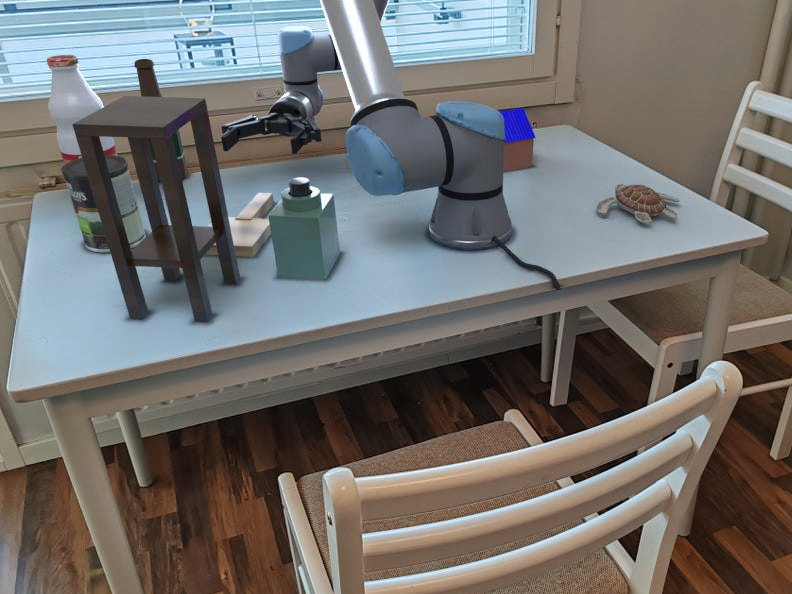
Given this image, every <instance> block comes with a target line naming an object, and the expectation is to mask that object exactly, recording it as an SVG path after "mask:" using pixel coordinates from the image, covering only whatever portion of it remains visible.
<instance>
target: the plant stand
mask: <svg viewBox="0 0 792 594" xmlns="http://www.w3.org/2000/svg"><path fill="white" fill-rule="evenodd" d="M206 100H207V99H206V98H204V97H177V96H176V97H173V96H162V97H145V96H141V95H140V96H139V95H124V96H121V97H119V98H117V99H116V100H114V101H112V102H111V103H109V104H107V105H105V106H103V108H101V109H99V110H98V111H96V112H94V113H92V114H90V115H88V116H86V117H85V118H83V119H81V120H79V121H77V122H75V123H74V124H72V125H73V129H74V132H75V135H76V139H77V142H78V145H79V149H80V152H81V155H82V159H83V162H84V166H85V169H86V172H87V176H88V179H89V182H90V186H91V189H92V192H93V196H94V199H95V203H96V206H97V209H98V213H99V216H100V219H101V223H102V226H103V229H104V233H105V236H106V239H107V243H108V246H109V250H110V253H109V254H110V256H111V259H112V263H113V266H114V269H115V270H114V271H115V273H116V276H117V279H118V283H119V287H120V289H121V294H122V296H123V300H124V303H125V307H126V311H127V313H128V317H129V319H130V320H144V319H145V318H146V317H147V316H148V314H149V309H148V305H147V302H146V299H145V295H144V292H143V288H142V285H141V280H140V276H139V273H138V270H137V267H144V268H161V272H162V273H161V274H162V277H163V280H164V282H169V283H171V282H172V283H178V281H179V280H180V279H181V277H182V274H183V278H184V283H185V287H186V290H187V296H188V299H189V303H190V307H191V312H192V316H193V319H194V322H195V323H209V322H210V321H211V319H212V317H214V316H213V311H212V306H211V301H210V298H209V293H208V289H207V283H206V280H205V276H204V271H203V266H202V263H201V260H202V258H203V257H204V256H206V255H205V254H206V253H207V251H208V250H209V249H210V248H211V247H212V246H213V245H214V243H215V242H216V246H217V251H218V255H217V256H218V261H219V265H220V269H221V270H220V271H221V275H222V279H223V284H224V285H234V286H235V285H237V284H238V283H239V282H240V281H241V275H240V271H239V266H238V265H239V264H238V260H237V256H236V254H235V249H234V244H233V239H232V234H231V228H230V223H229V218H228V217H229V214H228V209H227V203H226V197H225V193H224V187H223V183H222V177H221V172H220V168H219V162H218V158H217V152H216V147H215V142H214V136H213V131H212V126H211V121H210V115H209V111H208V110H209V109H208V105H207V101H206ZM188 123H190V125H191V130H192V135H193V140H194V145H195V150H196V154H197V160H198V164H199V169H200V173H201V178H202V183H203V189H204V193H205V198H206V202H207V207H208V211H209V216H210V217H209V218H210V223H211V222H212V227H207V226H200V225H199V226H198V225H193V221H192V218H191V213H190V208H189V204H188V201H187V200H188V199H187V195H186V191H185V185H184V182H183V179H182V177H181V173H180V168H179V164H178V159H177V155H176V150H175V146H174V141H173V137H172V134H173V133H174V132H175V131H177V130H178V129H179V130H180V129H181V128H182V127H184V126H185V125H187V124H188ZM99 136H102V137H113V138H127V140H128V144H129V148H130V152H131V153H130V154H131V156H132V160H133V164H134V168H135V172H136V175H137V180H138V184H139V187H140V191H141V195H142V198H143V202H144V207H145V210H146V211H145V212H146V214H147V218H148V222H149V226H150V230H151V232H150V233H149V234H148V235H146V238H145V239H144V240H142V241H141V242H140V243H139V244H138V245H137V246H136V247H133V248H130V245H129V241H128V238H127V234H126V230H125V227H124V223H123V220H122V216H121V212H120V209H119V205H118V202H117V198H116V195H115V191H114V187H113V184H112V180H111V177H110V173H109V170H108V166H107V162H106V159H105V155H104V152H103V148H102V145H101V141H100V137H99ZM148 138H151V142H152V146H153V150H154V154H155V158H156V162H157V166H158V171H159V175H160V179H161V182H158V179H157V175H156V171H155V166H154V162H153V158H152V154H151V150H150V146H149V142H148ZM160 183H161V188H162V191H163V195H164V200H163V197H162V191H161V188H160ZM164 201H165V203H166V208H167V212H166V208H165V204H164ZM167 213H168V216H169V220H170V223H169V220H168V217H167ZM181 270H182V274H181Z"/></svg>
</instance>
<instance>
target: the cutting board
mask: <svg viewBox="0 0 792 594" xmlns="http://www.w3.org/2000/svg"><path fill="white" fill-rule="evenodd" d="M274 205H275V199H274V193H273V192H257V194H256V195H255V196H254V197H253V198H252V199H250V201H249V202H248V203H247V205H245V207H244V208H243V209H242V210H241V211H240V213H238V214H237V215H236V216H228V218H229V223H230V228H231V234H232V239H233V244H234V249H235V254H236V257H249V258H254V257H255V256H256V255H257V253H258V252H259V251H260V250H261V248H262V247H263V245H264V244H265V243H266V241H267V240H268V239H269V238H270V236H271V229H270V223H269V218H264V217H265V216H266V214H268V212H269V211H270V210H271V208H272V207H273V206H274ZM206 227H212V222H211V221H210V222H209V223H208V225H207V226H206ZM206 255H207V256H218V251H217V246H216V242H215V243H214V245H213V246H212V247H211V248H210V249H209V250H208V251H207V253H206V254H205V255H204V256H206Z"/></svg>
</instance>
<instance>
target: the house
mask: <svg viewBox="0 0 792 594" xmlns="http://www.w3.org/2000/svg"><path fill="white" fill-rule="evenodd" d="M498 111H499V112H500V113H501V114H502V116H503V119H504V129H505V140H504V167H503V173H504V172H510V171H516V170H521V169H528V168H533V165H534V164H533V161H534V143H535V141H534V140H535V139H536V134H535V132H534V129H533V127H532V125H531V122H530V120H529V118H528V116H527V113H526V112H525V109H524V107H521V108H513V109H506V110H498Z"/></svg>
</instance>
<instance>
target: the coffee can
mask: <svg viewBox="0 0 792 594" xmlns="http://www.w3.org/2000/svg"><path fill="white" fill-rule="evenodd" d="M105 159H106V162H107V166H108V170H109V173H110V177H111V180H112V184H113V187H114V191H115V195H116V198H117V202H118V205H119V209H120V212H121V216H122V220H123V223H124V227H125V230H126V234H127V238H128V241H129V245H130V248H131V249H134V248H135V247H136V246H137V245H138V244H139V243H140V242H141V241H142V240H144V239H145V238H146V237H147V234H146V232H145V228H144V225H143V221H142V217H141V212H140V210H139V205H138V202H137V197H136V193H135V190H134V189H135V188H134V185H133V181H132V178H131V174H130V170H129V162H128V160H127V159H126V158H125V157H122V156H113V155H105ZM60 171H61V173H62V174H61V175H63V177H64V180H65V181H64V182H65V185H66V187H67V190H68V193H69V196H70V201H71V203H72V207H73V209H74V213H75V215H76V218H77V222H78V225H79V228H80V231H81V234H82V238H83V242H84V246H85V248H86V249H87V250H89V251H90V252H94V253H99V254H100V253H102V254H111V253H110V250H109V246H108V243H107V239H106V236H105V233H104V229H103V226H102V223H101V219H100V216H99V213H98V209H97V206H96V203H95V199H94V196H93V192H92V189H91V186H90V182H89V179H88V176H87V172H86V169H85V166H84V162H83V159H82V158H79V159H76V160H73V161H71V162H69V163H67V164H64V165H62V167H61V168H60Z"/></svg>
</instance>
